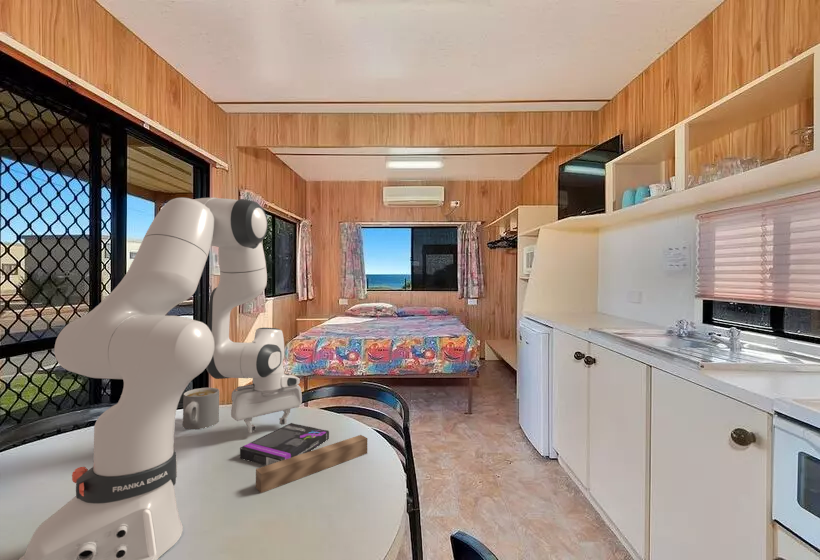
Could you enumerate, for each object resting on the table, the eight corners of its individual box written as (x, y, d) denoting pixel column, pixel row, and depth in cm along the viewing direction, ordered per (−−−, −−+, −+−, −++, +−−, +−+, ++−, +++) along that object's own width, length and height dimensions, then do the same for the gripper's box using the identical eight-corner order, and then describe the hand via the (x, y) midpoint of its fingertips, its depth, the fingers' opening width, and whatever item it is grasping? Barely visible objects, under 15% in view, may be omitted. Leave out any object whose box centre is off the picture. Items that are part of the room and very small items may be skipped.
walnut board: (260, 493, 79) (261, 474, 79) (255, 487, 81) (255, 469, 82) (367, 453, 98) (367, 438, 98) (360, 449, 101) (360, 434, 101)
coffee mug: (198, 417, 124) (198, 386, 124) (225, 419, 122) (226, 388, 123) (166, 432, 111) (166, 399, 111) (196, 435, 109) (196, 400, 109)
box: (281, 473, 89) (330, 441, 107) (281, 459, 89) (330, 429, 107) (238, 461, 95) (291, 432, 113) (239, 447, 95) (291, 420, 113)
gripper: (235, 390, 102) (234, 440, 102) (304, 378, 116) (303, 422, 116) (228, 385, 106) (227, 434, 106) (295, 374, 120) (294, 417, 120)
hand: (267, 428), depth 111 cm, fingers open, 8 cm apart
